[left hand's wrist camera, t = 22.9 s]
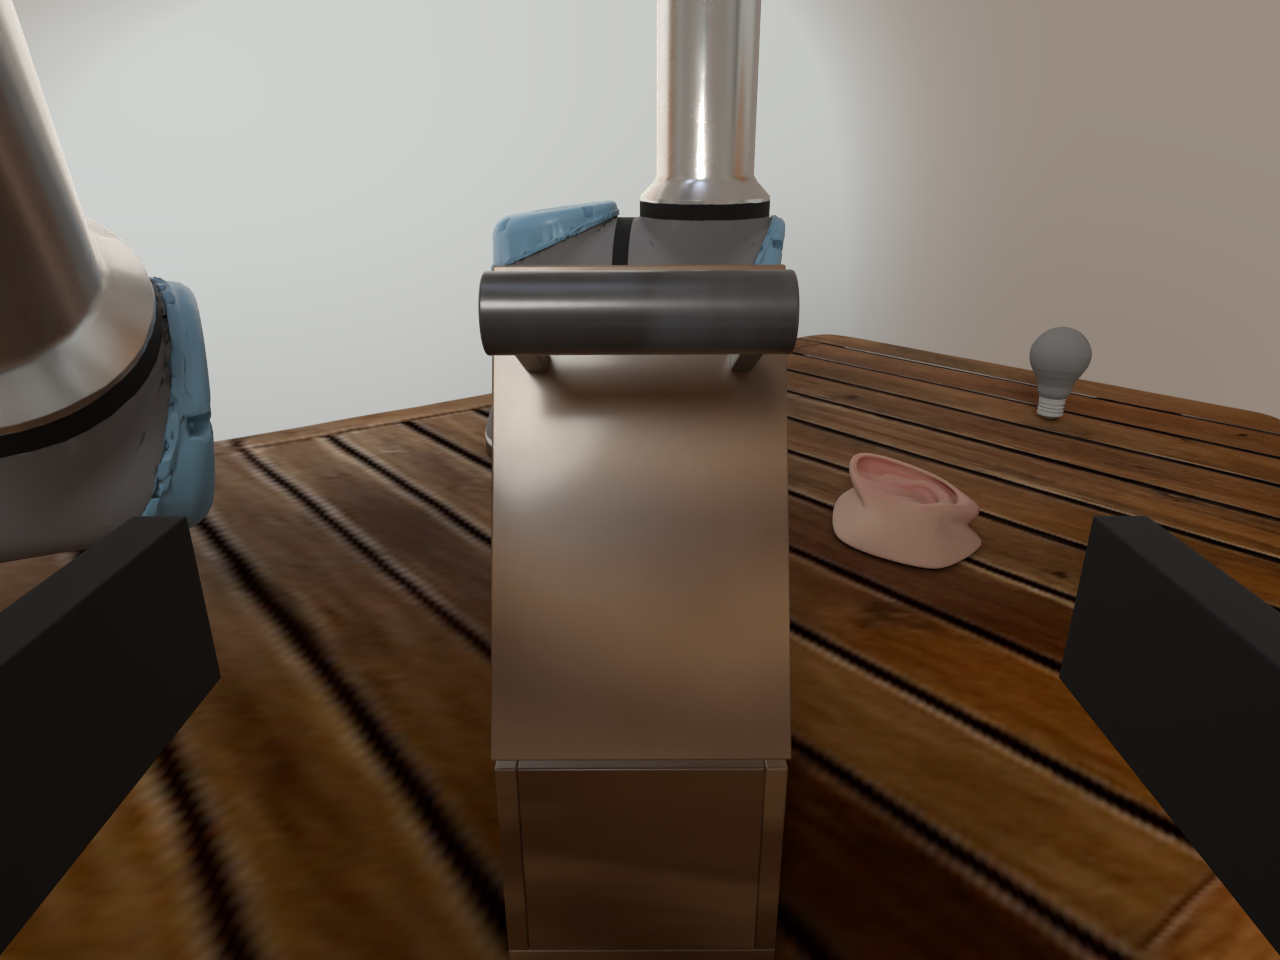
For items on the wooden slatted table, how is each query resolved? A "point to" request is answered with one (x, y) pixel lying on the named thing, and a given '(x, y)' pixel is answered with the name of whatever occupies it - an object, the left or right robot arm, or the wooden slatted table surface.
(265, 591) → the wooden slatted table surface
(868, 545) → the anatomical model
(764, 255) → the right robot arm
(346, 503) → the wooden slatted table surface
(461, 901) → the wooden slatted table surface
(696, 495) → the lid
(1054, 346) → the light bulb
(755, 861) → the chest
